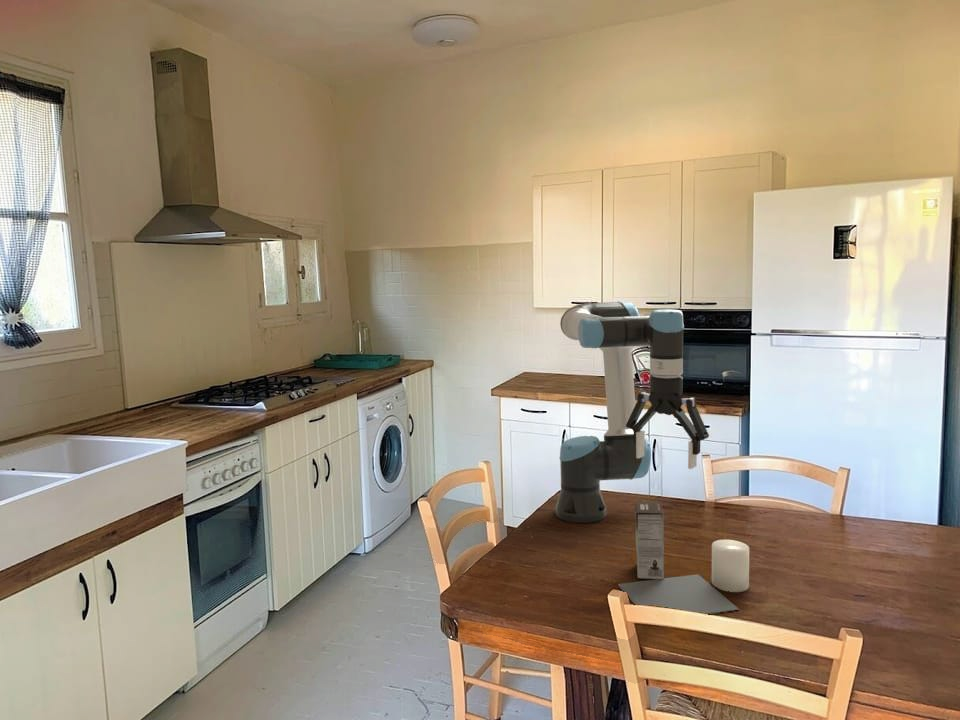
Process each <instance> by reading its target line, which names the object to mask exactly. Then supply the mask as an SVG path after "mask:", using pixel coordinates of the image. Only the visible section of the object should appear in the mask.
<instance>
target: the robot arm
mask: <svg viewBox="0 0 960 720" xmlns="http://www.w3.org/2000/svg"><path fill="white" fill-rule="evenodd" d="M559 324H560V329H561V332H562V333H563V334H564V336H566V337H567V338H568V339H571V340H573V341H579V344H580V346H581V347H582V348H584V349H599V350H600V351H601V352H602V354H603V355H602V356H603V357H602V358H603V370H604V371H603V372H604V383H605V399H606V413H607V427H608V429H607V431H606V432H605V433H604V434H603V441H600V438H598V437H597V436H594V435H590V436H589V435H582V436H576V437H572V438H569V439H566V440H565V441H563V442H562V443H561V445H560V450H559V462H560V463H559V465H560V466H559V467H560V492H559V495H558V497H557V502H556V504H555V516H556V517H557V518H558V519H559V520H563V521H565V522H568V523H575V524H576V523H577V524H587V523H588V524H589V523H596V522H599V521H602V520H603V519H605V518H606V516H607V506H606V504H605V501H604V498H603V495H602V492H601V487H600V485H601V483H600V482H601V481H615V480H616V481H617V480H630V481H631V480H634V479H635V480H636V479H643V478H644V477H646V476H647V474H648V473H649V470H650V467H651V462H652V448H651V444H650V441H649V440H648V439H646V438H645V436H646V435H645V430H643V428H644V427H645V425H647V424H648V422H649V421H650V420H651V419H652V418H653V416H654V415H656V413H657V414H660V415H663V414H665V415H667V416H671V415H672V416H673V417H674V418H675V419H676V420H677V421H678V422H679V424H680V425H681V427H682V428H683V430H684V431H685V433H687V435H688V437H689V438H690V440H689V441H688V449H687V450H688V452H687V453H688V454H687V455H688V456H687V457H688V459H687V460H688V461H687V462H688V463H687V465H688V466H687V468H688V469H690V470H692V469H694V468H696V467H697V463H698V462H697V460H698V458H697V456H698V455H699V454H701V441H705V440H706V439H709V437H710V434H709V432H708V430H707V428H706V425H705V424H704V421H703V418H702V417H701V414H700V412H699V410H698V407H697V399H696V398H695V397H694V396H693V397H690V398H687V397H686V398H684V396H683V388H684V386H683V385H684V381H683V380H684V377H683V376H682V375H683V374H684V328H685V324H684V314H683V312H682V311H681V310H680V309H679V310H678V309H671V308H669V309H667V308H666V309H654V310H652V311H651V313H650V314H648V313H647V314H643V315H640V313H639V311H638V308H637V307H636V306H635V304H634V303H632V302H628V301H619V300H618V301H607V302H586V303H579V304H576V305H573V306H571V307H570V308H568V309H567V310H566V311H564V313H563V314H562V316H561V317H560V323H559ZM634 347H649V373H650V376H649V391H650V393H648V392H647V391H642V392H639V393H638V394H637V399H636V397H635V396H636V395H635V382H634V380H635V379H634V371H633V370H634V369H633V367H634V366H633V353H632V350H633V348H634ZM636 400H637V401H636ZM648 401H649V402H650V404H651V406H650V407H649V408H648V409H647V410H646V412H645V413H644V414H643V416H640V415H642V412H643V409H644V408H645V406H646V403H647V402H648ZM683 405H684V407H685V408H686V410H687V414H688V416H689V417H688V416H687V415H686V412H685V410H684V409H683V407H682V406H683ZM640 417H641V418H640ZM689 418H690V419H689ZM638 419H639V420H638Z"/></svg>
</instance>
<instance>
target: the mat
mask: <svg viewBox="0 0 960 720" xmlns="http://www.w3.org/2000/svg"><path fill="white" fill-rule="evenodd" d="M617 586H618V588H620V590H621V591H622V592H623V591H625V592H627V593H628V594H629V598H630V599H629V598H628V599H629V600H630V601H631V602H632V603H633V604H640V605H653V606H661V607H668V608H676V609H682V610H688V611H695V612H702V613H707V614H710V615H716V614H717V613H718V614H721V613H720V612H725V613H727V612H726V611H733V612H735V611H734V610H739V608H738V607H737V606H736V605H735V604H733V603H732V602H731V601H730V600H729V599H728V598H727V597H725V595H724V594H722V593H721V592H719V591H718V590H717V588H716V587H715V586H712V584H710V583H709V582H708V581H707V580H705V579H704V578H703V577H702V576H701V575H699V574H698V573H696V574H690V575H681V576H674V577H673V576H672V577H664V579H646V580H641V581H632V582H623V583H618V584H617Z"/></svg>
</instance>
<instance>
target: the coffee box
mask: <svg viewBox="0 0 960 720" xmlns="http://www.w3.org/2000/svg"><path fill="white" fill-rule="evenodd" d="M662 503H663V502H662V501H635V503H634V508H635V509H634V513H635V514H634V516H635V517H634V519H635V520H634V521H635V552H636V553H635V555H636V572H637V575H636V576H637V579H645V580H655V579H664V578H665V544H664V543H665V537H664V532H665V531H664V511H663V510H664V509H663V505H662Z"/></svg>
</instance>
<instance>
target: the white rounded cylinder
mask: <svg viewBox="0 0 960 720" xmlns="http://www.w3.org/2000/svg"><path fill="white" fill-rule="evenodd" d="M711 585H713V587H714V588H716V587H717V588H716V589H719V590H722V591H724V592H728V591H729V593H741V592H745V591H747V590H748V589H749V588H750V546H749V545H748V544H746V543H744V542H741V541H738V540H736V539H735V540H734V539H717V540H715V541H713V542H712V544H711Z"/></svg>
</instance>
